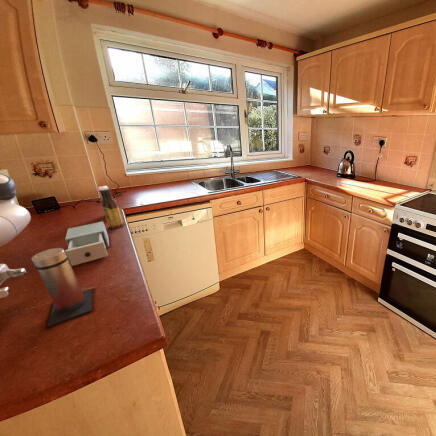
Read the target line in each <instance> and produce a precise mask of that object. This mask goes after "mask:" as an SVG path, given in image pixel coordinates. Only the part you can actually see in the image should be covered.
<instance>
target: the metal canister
mask: <svg viewBox="0 0 436 436" xmlns="http://www.w3.org/2000/svg"><path fill="white" fill-rule="evenodd" d="M65 251H66V250H65V249H64V248H62V247H55V248H49V249H46V250H43V251H40V252H38V253H36V254H34V255H32V257H31V261H32V262H33V265H34V268H35V269H36V270H37V273H38V274H39V276H40V278H41V281H42V283H43V284H44V286H45V288H46V291H47V292H48V294H49V296H50V299H51V300H52V302H54V304H55V306H56V308H57V310H58V312H60V313H67V312H71V311H73V310H76V309H78V308H79V307H81V306H82V305H83V304H84V303H85V302H86V299H85V297H84V294H83V289H82V288H81V286H80V283H79V281H78V279H77V276H76V274H75V272H74V270H73V266H71V263H70V261H69V259H68V256H67V254H66V252H65Z"/></svg>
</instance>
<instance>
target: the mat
mask: <svg viewBox="0 0 436 436" xmlns="http://www.w3.org/2000/svg"><path fill="white" fill-rule="evenodd" d="M82 292H83V294H84V297H85V299H86V302H85V303H84V304H83V305H82V306H81V307H79V308H78V309H76V310H73V311H71V312H67V313H60V312H58V310H57V308H56V306H55V304H54V302H53V301H52V302H53V303H52V306H51V311H50V315H49V319H48V323H47V328H50V327H53V326H56V325H59V324H61V323H63V322H66V321H69V320H72V319H74V318H77V317H80V316H83V315H85V314H88V313H91V312H92V310H93V309H92V308H93V307H92V306H93V305H92V303H93V289H92V288H90V289H89V288H88V289H86V290H82Z"/></svg>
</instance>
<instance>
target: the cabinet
mask: <svg viewBox="0 0 436 436" xmlns="http://www.w3.org/2000/svg"><path fill="white" fill-rule="evenodd" d="M97 233H102V236H103V239H104V242H105V245H106V249H107V248H110V239H109V235H108V231H107V229H106V226H105V223H104V220H103V221H98V222H93V223H88V224H84V225H79V226H74V227H70V228H67V232H66V235H65V238H64V240H65V243H66V245H67V247H68V246H69V242H70V240H71V239H76V238H80V237H84V236H89V235H93V234H97Z"/></svg>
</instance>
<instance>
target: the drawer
mask: <svg viewBox="0 0 436 436" xmlns="http://www.w3.org/2000/svg"><path fill="white" fill-rule="evenodd" d="M64 251H65V254H66V256H67V257H68V260H69V263H70V265H71V267H73V266H76V265H80V264H85V263H87V262H91V261H95V260H99V259H101V258H105V257H108V256H109V253H108V250H107V248H106V245H105V242H104V239H103V236H102V233H97V234H93V235H89V236H84V237H80V238H76V239H71V240H70V242H69V246H68V245H67V249H65V250H64Z"/></svg>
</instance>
